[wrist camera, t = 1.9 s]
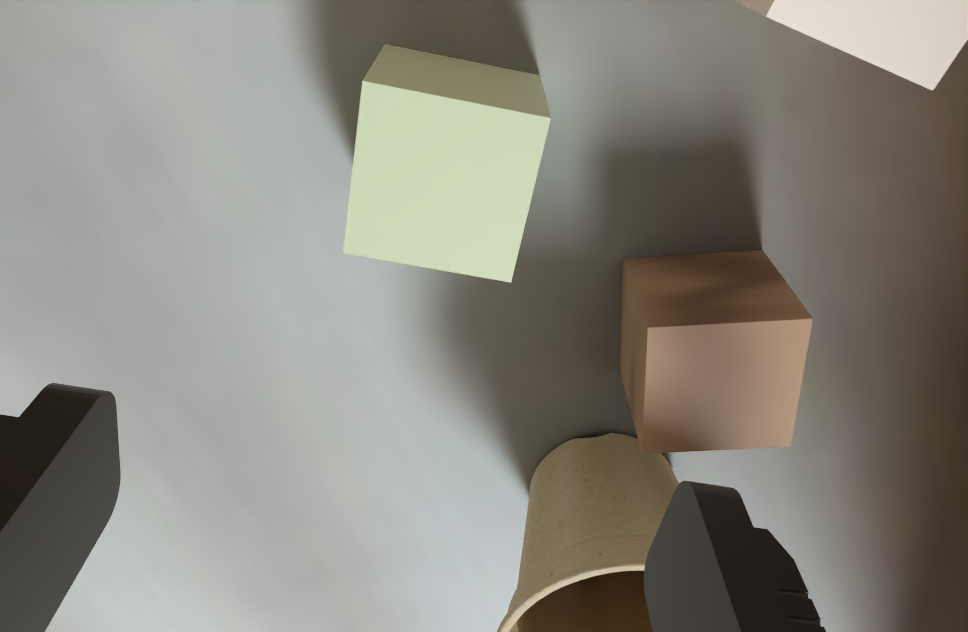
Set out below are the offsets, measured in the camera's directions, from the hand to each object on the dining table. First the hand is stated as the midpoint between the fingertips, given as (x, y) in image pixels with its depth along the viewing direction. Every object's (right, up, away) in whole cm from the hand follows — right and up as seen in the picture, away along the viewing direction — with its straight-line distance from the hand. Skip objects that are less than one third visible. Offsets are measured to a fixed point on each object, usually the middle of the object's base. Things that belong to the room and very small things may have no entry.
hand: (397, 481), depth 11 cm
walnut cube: (+9, +3, +18) cm, 20 cm away
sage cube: (0, +8, +14) cm, 17 cm away
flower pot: (+6, -5, +22) cm, 24 cm away
